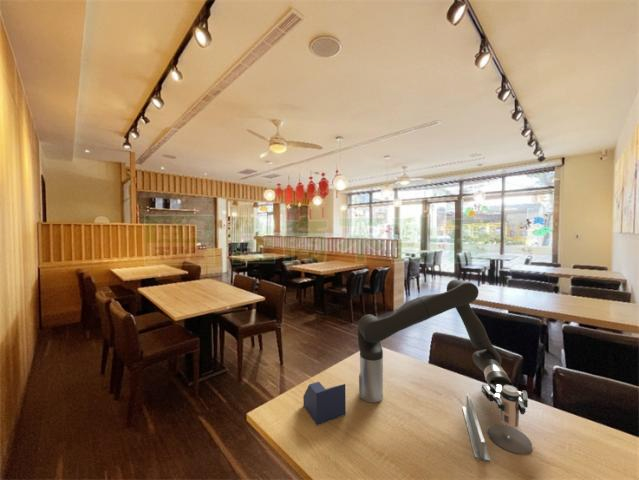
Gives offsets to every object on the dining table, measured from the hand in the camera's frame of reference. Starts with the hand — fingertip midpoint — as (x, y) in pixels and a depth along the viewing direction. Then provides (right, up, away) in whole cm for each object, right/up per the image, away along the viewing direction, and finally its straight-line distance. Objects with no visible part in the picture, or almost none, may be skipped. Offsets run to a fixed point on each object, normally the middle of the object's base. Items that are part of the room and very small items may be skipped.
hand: (512, 409), depth 87 cm
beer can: (+1, -6, +3) cm, 7 cm away
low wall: (-9, -11, +6) cm, 16 cm away
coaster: (+1, -12, +3) cm, 12 cm away
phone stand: (-59, -12, +19) cm, 63 cm away
